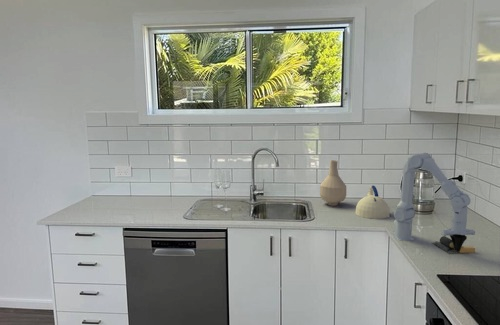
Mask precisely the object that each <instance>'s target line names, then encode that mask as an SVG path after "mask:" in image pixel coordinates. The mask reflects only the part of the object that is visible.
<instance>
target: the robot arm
mask: <svg viewBox="0 0 500 325" xmlns="http://www.w3.org/2000/svg"><path fill="white" fill-rule="evenodd" d="M402 169H403V170H402V179H401V189H400V190H401V191H400V198H399V199H400V200H399V203H398V204H397V206H396V209H395V210H394V213H393V217H394V221H393V224H392V225H393V226H392V227H393V228H392V233H391V234H390V235H391V236H392V237H394V238H395V239H397V240H399V241H412V240H413V241H415V240H416V239H415V238H414V237H412V234H413V233H412V231H413V219H414V218H415V216H416V210H415V205H414V203H413V198H414V197H413V195H414V186H415V178H416V177H415V175H416V171H418V170H420V169H421V170H424V171H429V173H430V174H431V175H432V176H433V177H434V178H435V179H436V181H438V182H439V183H440V189H441V190H442V192H444V194H445V195H446V196H447V197H448V198H449V199H450V205H451V207H452V212H451V214H452V215H451V229H444V230H441V235H442V236H446V237H447V236H449V237H450V239H451V240H452V241H453V245H454V249H453V251H460V249H461V247H462V246H463V244H464V243H465V241H466V240H467V238H468V237H467V236H469V235H470V236H471V235H472V236H476V230H474V229H467V220H468V208H469V205H470V203H471V197H470V196H469V194H467V193H465V192H464V191H462V190H461V189H460V188H459V187H458V185H457V183H456V181H454V180H451V179H448V178H447V177H446V175H445V173H444V172H443V171H442V170H441V169H440V167H439V166H438V164H437V163H436V161H435V159H434V158H433V157H432V156H431V154H429V153H428V152H422V153H415V154H411V155H410V156H409V157H407V161H406V162H405V164H404V165H403V168H402Z"/></svg>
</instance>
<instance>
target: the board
mask: <svg viewBox="0 0 500 325" xmlns="http://www.w3.org/2000/svg"><path fill="white" fill-rule="evenodd" d="M431 244H433V245H435V247H438V249H442V250H443V251H444V252H445V253H446V254H449V255H460V253H459V252H458V251H456V250H450V249H449V248H448V247H446V246H444V245H443V244H441V243H440V241H436V240H435V241H434V242H431ZM461 254H462V255H463V254H465V253H461ZM466 254H470V252H469V253H466Z"/></svg>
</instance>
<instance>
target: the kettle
mask: <svg viewBox="0 0 500 325" xmlns="http://www.w3.org/2000/svg"><path fill="white" fill-rule="evenodd" d="M366 194H367V195H366V196H364V197H362V198H361V199H360V200H359V201H357V204H356V206H355V215H357V216H358V217H361V218H366V219H370V220H371V219H375V220H379V219H382V220H383V219H386V218H389V217H390V207H389V205H388V203H387V201H385V200H384V199H383V198H382V197H380V196H379V193H378V189H377V187H376V186H375V185H370V187H369V190H368V191H367V192H366Z"/></svg>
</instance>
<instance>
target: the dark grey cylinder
mask: <svg viewBox="0 0 500 325" xmlns="http://www.w3.org/2000/svg"><path fill="white" fill-rule="evenodd" d="M439 242H440V243H441V244H443V245H444V246H446V247H448V248H449V250H454V245H453V241H452V239H451V238H449V237H447V235H446V236H443V235H442V236H440V238H439Z"/></svg>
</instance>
